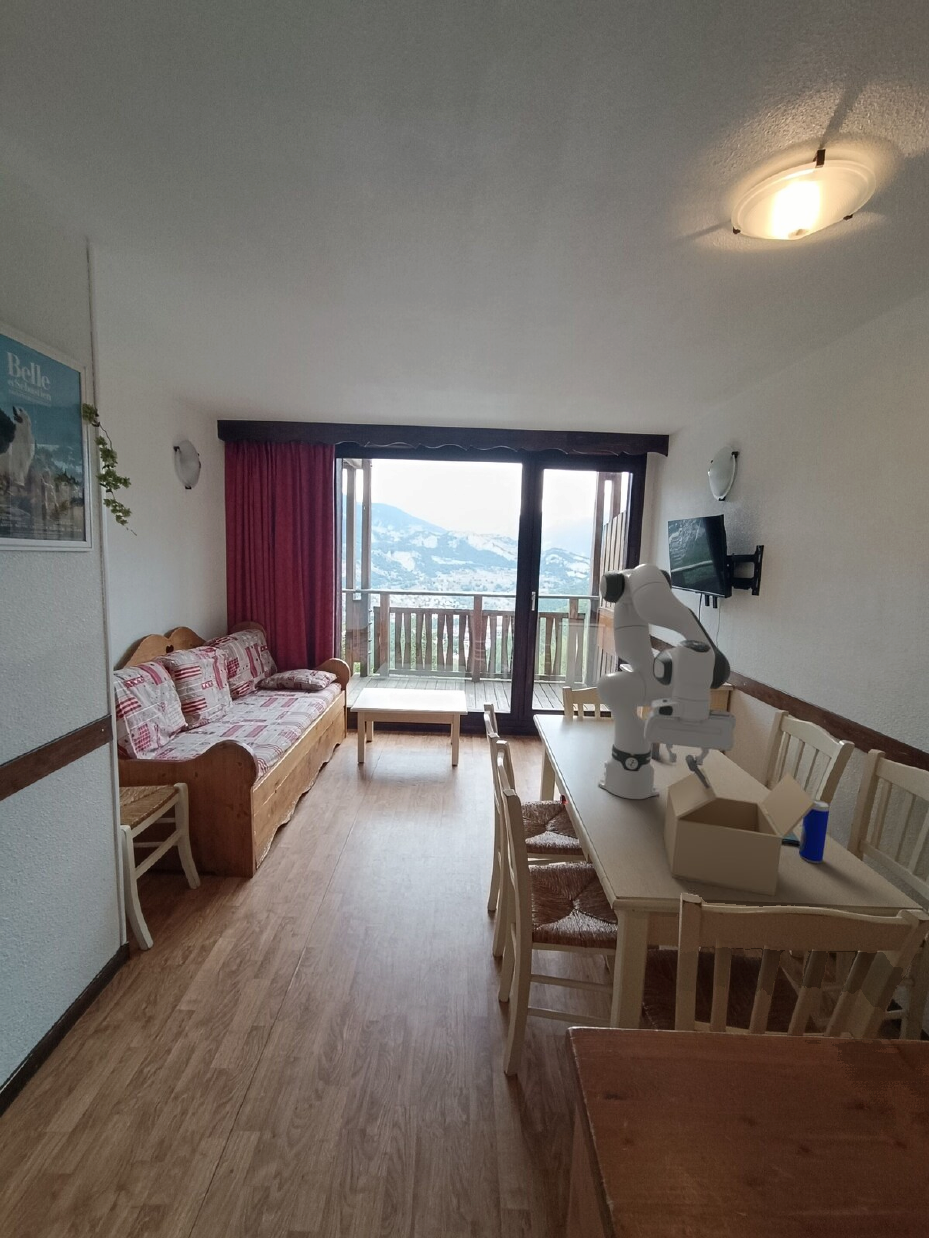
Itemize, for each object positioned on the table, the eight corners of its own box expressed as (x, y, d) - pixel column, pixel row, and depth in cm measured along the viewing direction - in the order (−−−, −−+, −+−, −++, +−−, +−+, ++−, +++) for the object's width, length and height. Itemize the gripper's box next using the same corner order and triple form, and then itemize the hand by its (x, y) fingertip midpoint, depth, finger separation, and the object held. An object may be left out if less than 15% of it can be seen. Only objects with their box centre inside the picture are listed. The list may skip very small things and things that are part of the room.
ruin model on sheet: (659, 760, 202) (661, 735, 201) (651, 759, 202) (653, 734, 201) (650, 749, 213) (652, 725, 212) (642, 748, 213) (644, 725, 212)
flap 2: (783, 836, 119) (785, 837, 119) (813, 802, 117) (816, 803, 116) (761, 802, 135) (763, 804, 135) (787, 772, 133) (790, 773, 133)
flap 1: (669, 788, 141) (652, 765, 141) (704, 769, 138) (687, 745, 139) (677, 819, 124) (658, 792, 125) (718, 797, 122) (698, 770, 122)
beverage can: (800, 850, 141) (807, 796, 139) (823, 858, 137) (830, 802, 136) (797, 858, 137) (804, 802, 135) (821, 866, 133) (828, 809, 132)
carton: (663, 838, 143) (668, 789, 141) (753, 854, 138) (759, 802, 136) (671, 876, 126) (677, 820, 124) (774, 896, 120) (782, 837, 119)
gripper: (733, 709, 130) (728, 763, 131) (645, 700, 135) (641, 753, 136) (740, 716, 124) (734, 773, 125) (647, 707, 129) (643, 762, 130)
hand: (685, 762), depth 131 cm, fingers open, 4 cm apart
